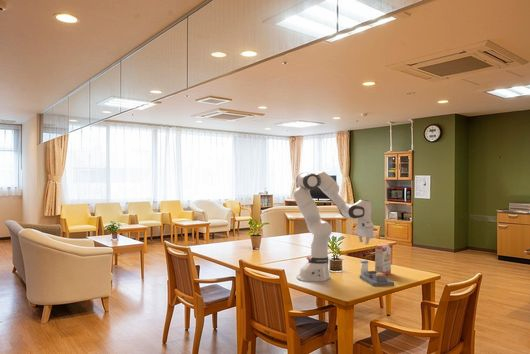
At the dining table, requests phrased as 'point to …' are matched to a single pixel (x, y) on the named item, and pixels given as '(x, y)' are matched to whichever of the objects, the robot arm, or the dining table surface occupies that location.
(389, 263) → the cracker box
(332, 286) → the dining table surface
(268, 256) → the dining table surface
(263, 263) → the dining table surface
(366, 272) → the housing
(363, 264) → the cartridge
